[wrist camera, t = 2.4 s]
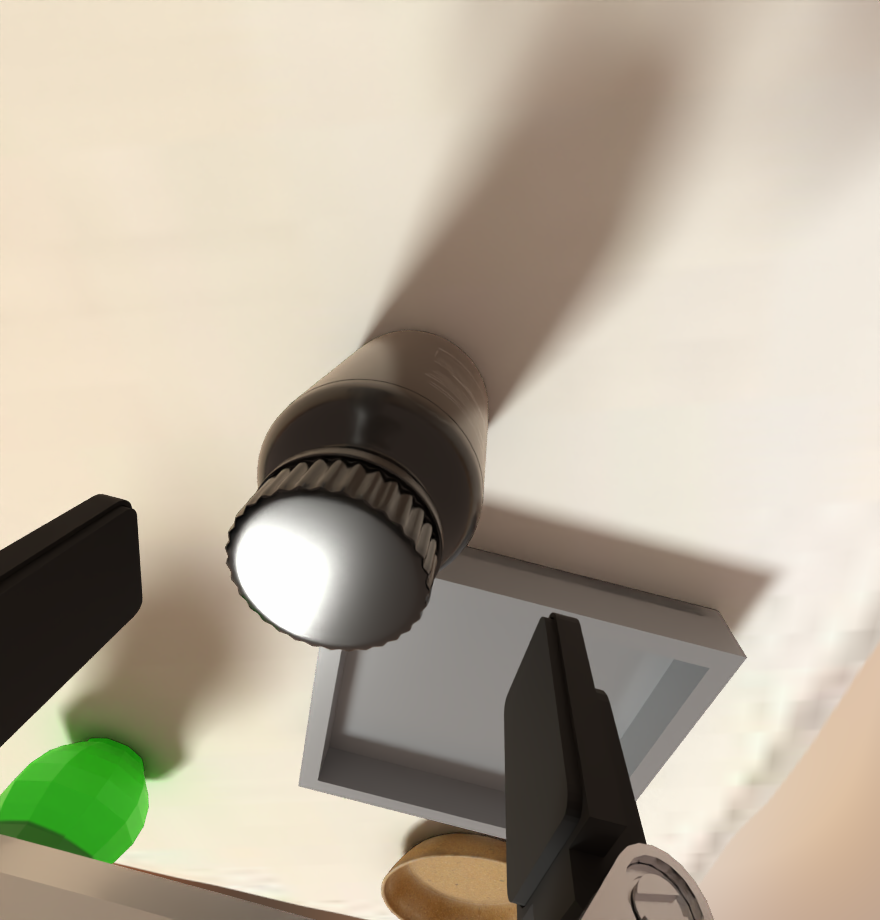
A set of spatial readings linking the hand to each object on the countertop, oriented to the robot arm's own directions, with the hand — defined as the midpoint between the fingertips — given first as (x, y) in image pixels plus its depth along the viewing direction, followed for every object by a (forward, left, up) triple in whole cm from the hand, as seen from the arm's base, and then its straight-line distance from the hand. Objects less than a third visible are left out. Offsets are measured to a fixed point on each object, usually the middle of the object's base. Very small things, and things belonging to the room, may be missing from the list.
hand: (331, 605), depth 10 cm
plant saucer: (+38, +13, -13) cm, 42 cm away
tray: (+16, +8, -12) cm, 22 cm away
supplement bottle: (-1, 0, -12) cm, 12 cm away
